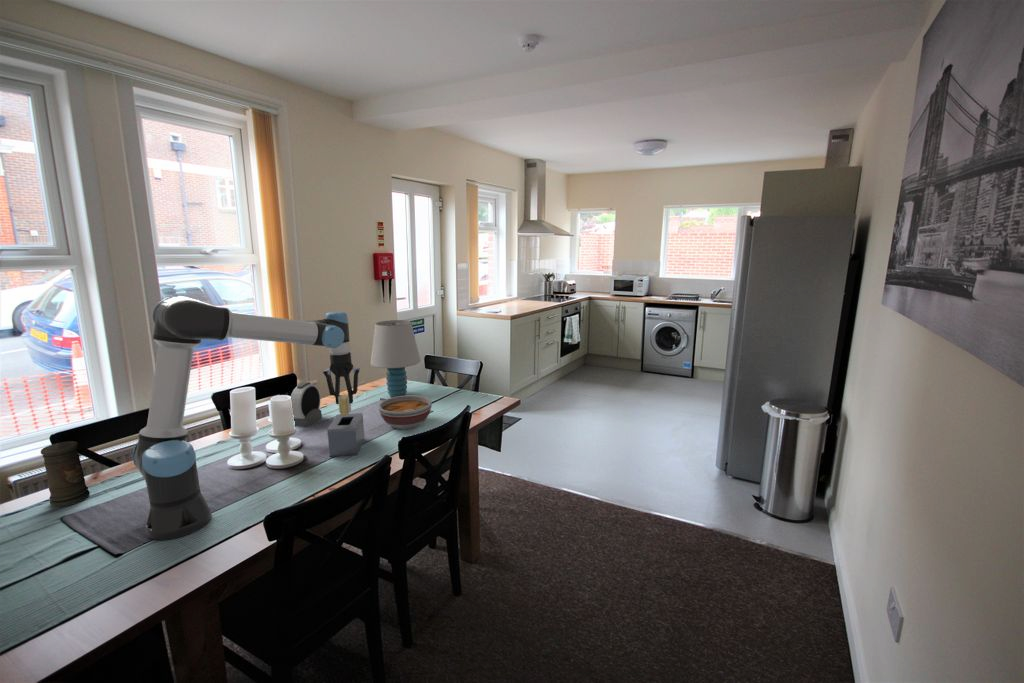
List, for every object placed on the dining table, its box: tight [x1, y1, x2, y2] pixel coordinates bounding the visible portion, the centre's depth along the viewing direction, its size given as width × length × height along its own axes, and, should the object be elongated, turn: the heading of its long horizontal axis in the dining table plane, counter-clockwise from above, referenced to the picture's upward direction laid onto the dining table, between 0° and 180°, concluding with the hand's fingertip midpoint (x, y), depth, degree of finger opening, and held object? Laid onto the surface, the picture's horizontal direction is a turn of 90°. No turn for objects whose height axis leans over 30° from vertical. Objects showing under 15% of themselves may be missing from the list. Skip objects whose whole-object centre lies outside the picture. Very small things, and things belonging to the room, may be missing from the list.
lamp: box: [370, 319, 421, 398], centre depth 243 cm, size 25×25×39 cm
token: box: [339, 393, 349, 416], centre depth 180 cm, size 6×2×6 cm, turn 8°
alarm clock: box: [290, 381, 323, 428], centre depth 209 cm, size 16×10×18 cm, turn 171°
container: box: [40, 440, 91, 508], centre depth 145 cm, size 9×9×18 cm
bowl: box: [378, 394, 433, 430], centre depth 206 cm, size 23×23×10 cm
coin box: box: [326, 412, 365, 458], centre depth 182 cm, size 10×16×11 cm, turn 8°
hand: (345, 411), depth 181 cm, fingers closed on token, 2 cm apart
